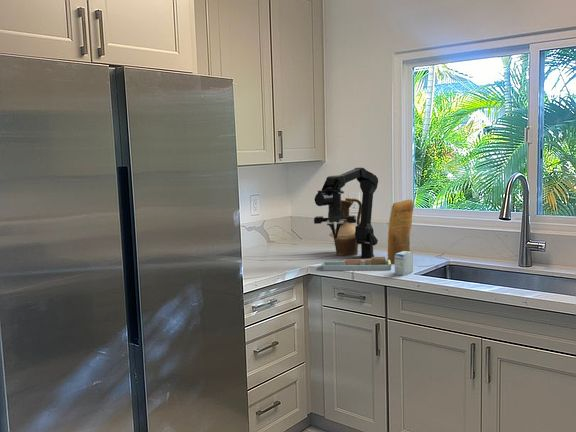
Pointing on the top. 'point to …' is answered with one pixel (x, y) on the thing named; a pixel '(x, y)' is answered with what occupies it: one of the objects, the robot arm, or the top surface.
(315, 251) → the top surface
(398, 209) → the pancake mix bag
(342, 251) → the pitcher
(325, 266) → the trap box
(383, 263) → the block
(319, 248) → the top surface
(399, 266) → the medicine box
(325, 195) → the robot arm
